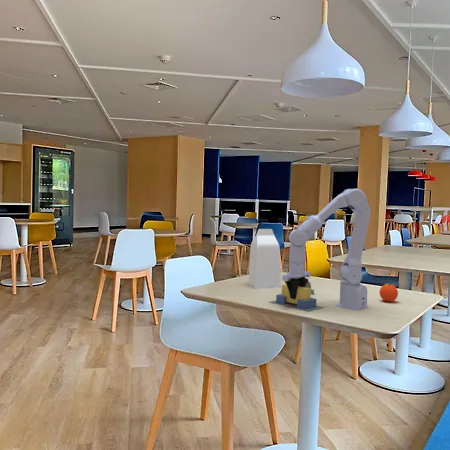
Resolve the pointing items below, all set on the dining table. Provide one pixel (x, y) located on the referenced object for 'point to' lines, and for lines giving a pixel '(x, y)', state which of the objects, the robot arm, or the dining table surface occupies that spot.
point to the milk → (264, 261)
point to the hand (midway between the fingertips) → (296, 297)
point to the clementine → (388, 292)
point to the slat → (302, 294)
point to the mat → (293, 305)
